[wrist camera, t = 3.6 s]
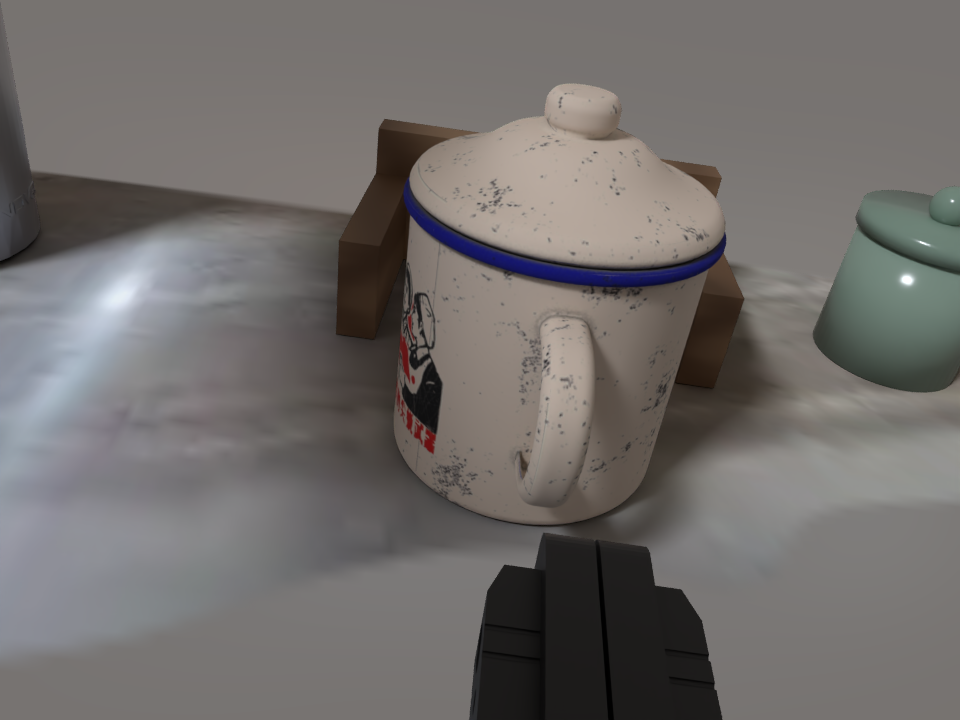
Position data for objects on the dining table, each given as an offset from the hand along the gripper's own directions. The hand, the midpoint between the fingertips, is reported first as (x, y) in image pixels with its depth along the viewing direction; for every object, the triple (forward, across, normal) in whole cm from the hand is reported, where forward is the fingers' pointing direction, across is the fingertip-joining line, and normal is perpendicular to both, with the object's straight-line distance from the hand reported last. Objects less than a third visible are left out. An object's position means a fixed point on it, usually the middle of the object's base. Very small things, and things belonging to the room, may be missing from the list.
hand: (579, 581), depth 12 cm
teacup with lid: (+12, 0, +8) cm, 14 cm away
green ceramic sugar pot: (+24, -16, +8) cm, 29 cm away
